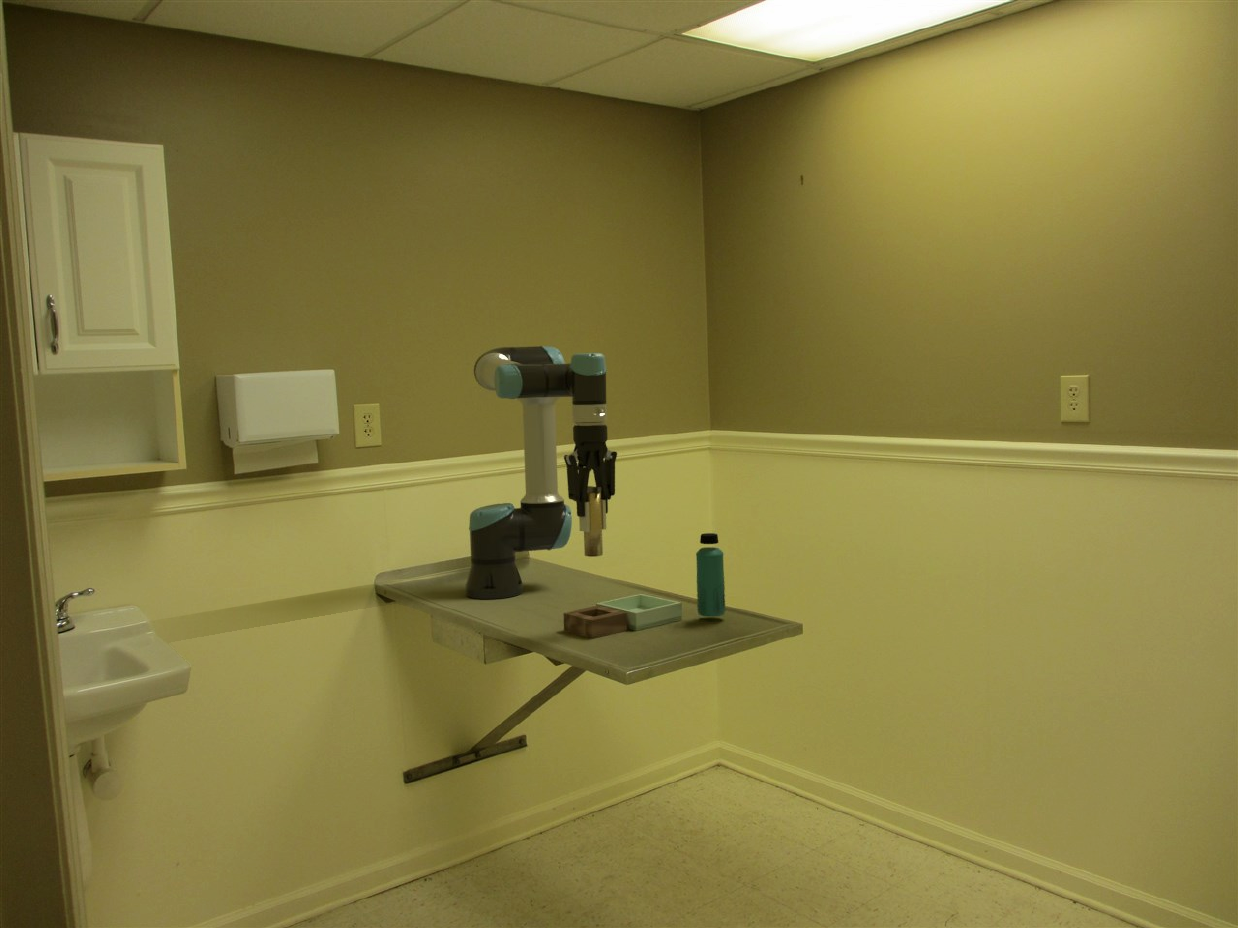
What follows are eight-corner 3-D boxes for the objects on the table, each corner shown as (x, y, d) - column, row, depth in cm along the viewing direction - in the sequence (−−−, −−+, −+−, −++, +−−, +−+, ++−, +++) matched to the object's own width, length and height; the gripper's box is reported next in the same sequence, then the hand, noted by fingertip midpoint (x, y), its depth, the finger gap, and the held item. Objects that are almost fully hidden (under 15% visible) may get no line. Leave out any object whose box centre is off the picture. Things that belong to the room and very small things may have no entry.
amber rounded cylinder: (579, 554, 221) (577, 486, 220) (593, 552, 224) (591, 485, 222) (594, 557, 217) (592, 488, 216) (608, 555, 220) (606, 486, 219)
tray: (596, 620, 231) (595, 603, 231) (641, 610, 240) (640, 593, 240) (636, 630, 220) (636, 612, 220) (681, 619, 229) (681, 602, 229)
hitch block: (564, 630, 222) (563, 612, 222) (598, 622, 229) (598, 605, 228) (592, 638, 215) (591, 620, 214) (627, 630, 221) (626, 612, 221)
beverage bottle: (728, 622, 226) (726, 535, 224) (699, 623, 225) (697, 536, 223) (722, 615, 232) (721, 530, 230) (694, 617, 232) (692, 532, 230)
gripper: (569, 426, 210) (573, 536, 212) (630, 422, 221) (633, 527, 223) (548, 425, 215) (551, 532, 217) (608, 422, 226) (611, 524, 228)
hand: (593, 529), depth 220 cm, fingers closed on amber rounded cylinder, 4 cm apart
